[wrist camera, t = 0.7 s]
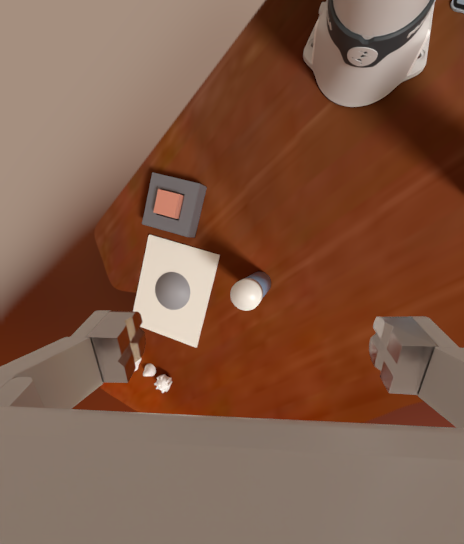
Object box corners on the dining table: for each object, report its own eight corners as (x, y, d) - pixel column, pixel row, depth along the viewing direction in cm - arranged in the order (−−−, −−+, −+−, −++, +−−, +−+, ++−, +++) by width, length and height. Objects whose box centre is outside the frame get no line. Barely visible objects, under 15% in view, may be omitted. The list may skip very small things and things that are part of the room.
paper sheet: (149, 234, 59) (148, 234, 58) (220, 255, 55) (219, 255, 55) (131, 322, 62) (130, 322, 62) (196, 347, 58) (196, 347, 58)
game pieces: (127, 362, 64) (117, 368, 61) (131, 350, 63) (122, 355, 60) (171, 389, 61) (164, 396, 58) (176, 376, 61) (169, 383, 58)
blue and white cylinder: (251, 268, 54) (234, 275, 41) (274, 274, 53) (264, 285, 40) (245, 290, 54) (227, 305, 42) (268, 297, 53) (256, 314, 41)
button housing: (161, 176, 56) (152, 172, 53) (206, 187, 54) (200, 183, 51) (151, 225, 58) (141, 223, 55) (194, 237, 56) (187, 237, 53)
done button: (166, 191, 54) (158, 188, 52) (186, 196, 53) (179, 194, 51) (161, 214, 55) (153, 212, 52) (181, 219, 54) (174, 218, 51)
